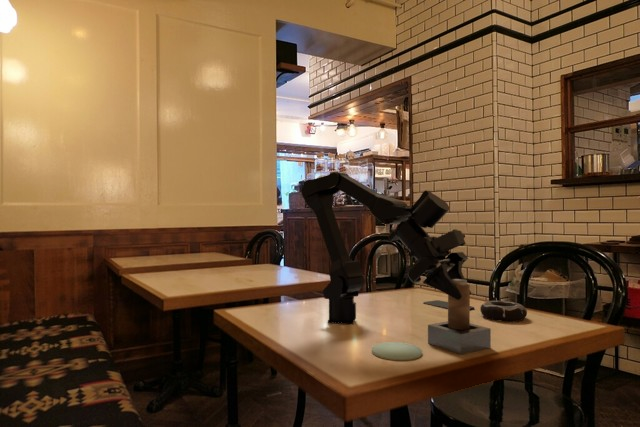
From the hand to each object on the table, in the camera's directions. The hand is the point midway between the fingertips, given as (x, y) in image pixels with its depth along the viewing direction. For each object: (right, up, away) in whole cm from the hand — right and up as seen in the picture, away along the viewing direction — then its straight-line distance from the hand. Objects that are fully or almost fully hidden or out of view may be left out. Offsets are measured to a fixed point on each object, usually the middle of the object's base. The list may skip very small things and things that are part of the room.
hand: (465, 296), depth 91 cm
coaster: (-15, -10, -4) cm, 19 cm away
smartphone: (+9, -11, +42) cm, 44 cm away
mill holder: (-1, -10, +1) cm, 11 cm away
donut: (+19, -11, +27) cm, 35 cm away
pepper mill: (-1, -7, +1) cm, 7 cm away
